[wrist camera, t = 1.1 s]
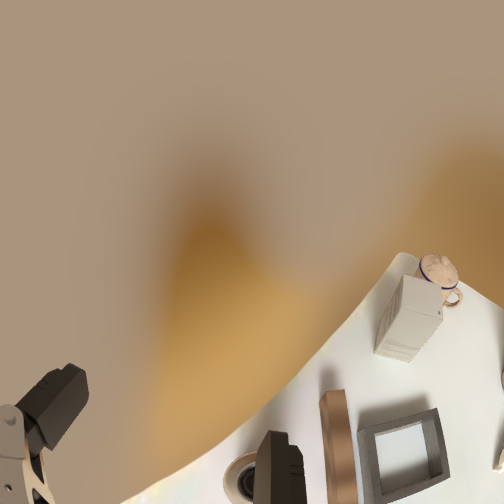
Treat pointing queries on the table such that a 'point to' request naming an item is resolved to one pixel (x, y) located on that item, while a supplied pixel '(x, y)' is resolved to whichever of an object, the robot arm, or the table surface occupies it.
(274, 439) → the robot arm
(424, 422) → the keeper
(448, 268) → the teacup with lid
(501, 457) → the white piece
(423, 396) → the table surface
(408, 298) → the supplement box
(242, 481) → the silver bottle
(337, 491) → the wooden plank
